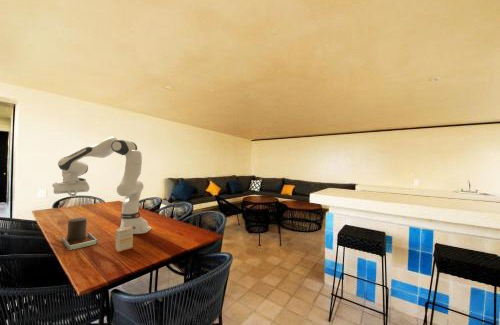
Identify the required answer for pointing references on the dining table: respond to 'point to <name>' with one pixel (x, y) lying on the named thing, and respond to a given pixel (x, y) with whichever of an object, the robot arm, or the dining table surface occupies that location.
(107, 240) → the dining table surface
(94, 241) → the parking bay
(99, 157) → the robot arm
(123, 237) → the supplement box
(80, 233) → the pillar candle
